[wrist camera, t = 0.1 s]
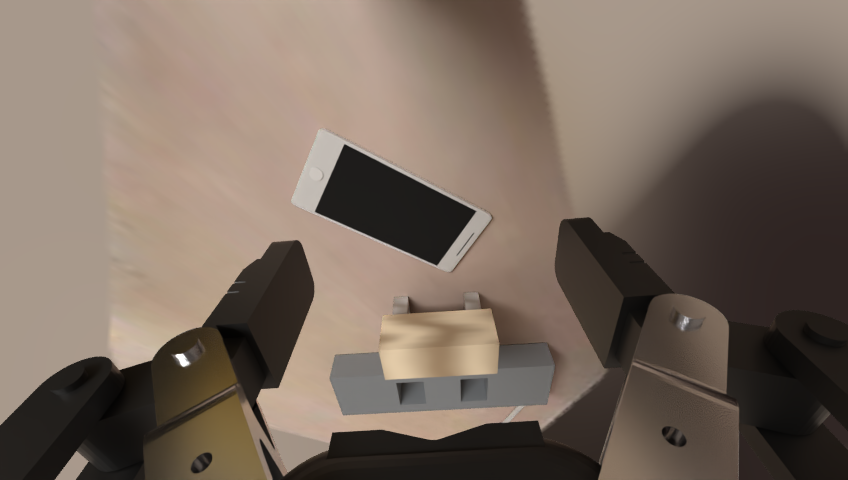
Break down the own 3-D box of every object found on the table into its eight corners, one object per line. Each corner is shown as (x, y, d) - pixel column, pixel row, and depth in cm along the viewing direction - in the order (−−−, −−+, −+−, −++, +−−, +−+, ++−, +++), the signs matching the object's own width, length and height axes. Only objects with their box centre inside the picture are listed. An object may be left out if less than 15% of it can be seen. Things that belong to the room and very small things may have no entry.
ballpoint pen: (493, 436, 51) (494, 443, 50) (488, 435, 51) (489, 442, 50) (529, 396, 45) (531, 403, 45) (523, 394, 45) (524, 401, 44)
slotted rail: (347, 392, 44) (343, 415, 42) (335, 355, 40) (329, 378, 38) (539, 381, 43) (546, 404, 41) (546, 342, 39) (555, 365, 37)
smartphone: (322, 124, 26) (319, 127, 25) (492, 211, 30) (494, 217, 30) (292, 199, 30) (289, 204, 29) (449, 268, 34) (449, 274, 33)
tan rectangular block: (390, 321, 37) (385, 379, 31) (385, 293, 35) (378, 350, 29) (484, 315, 37) (497, 373, 31) (485, 286, 35) (499, 343, 29)
